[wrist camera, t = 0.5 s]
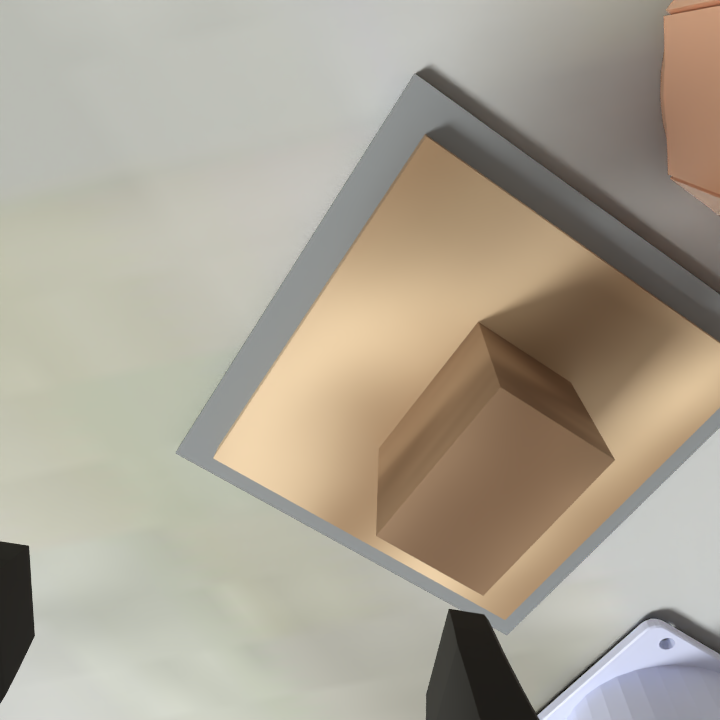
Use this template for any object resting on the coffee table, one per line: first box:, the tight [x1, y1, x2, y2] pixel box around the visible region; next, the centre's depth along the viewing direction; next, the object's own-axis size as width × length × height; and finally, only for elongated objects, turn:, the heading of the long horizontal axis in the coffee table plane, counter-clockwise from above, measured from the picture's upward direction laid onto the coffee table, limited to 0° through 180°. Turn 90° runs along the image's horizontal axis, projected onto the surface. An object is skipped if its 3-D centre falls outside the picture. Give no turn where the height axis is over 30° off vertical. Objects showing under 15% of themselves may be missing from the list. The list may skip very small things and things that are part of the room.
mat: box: [176, 74, 720, 635], centre depth 20 cm, size 13×13×1 cm
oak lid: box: [213, 134, 720, 620], centre depth 18 cm, size 11×11×5 cm
